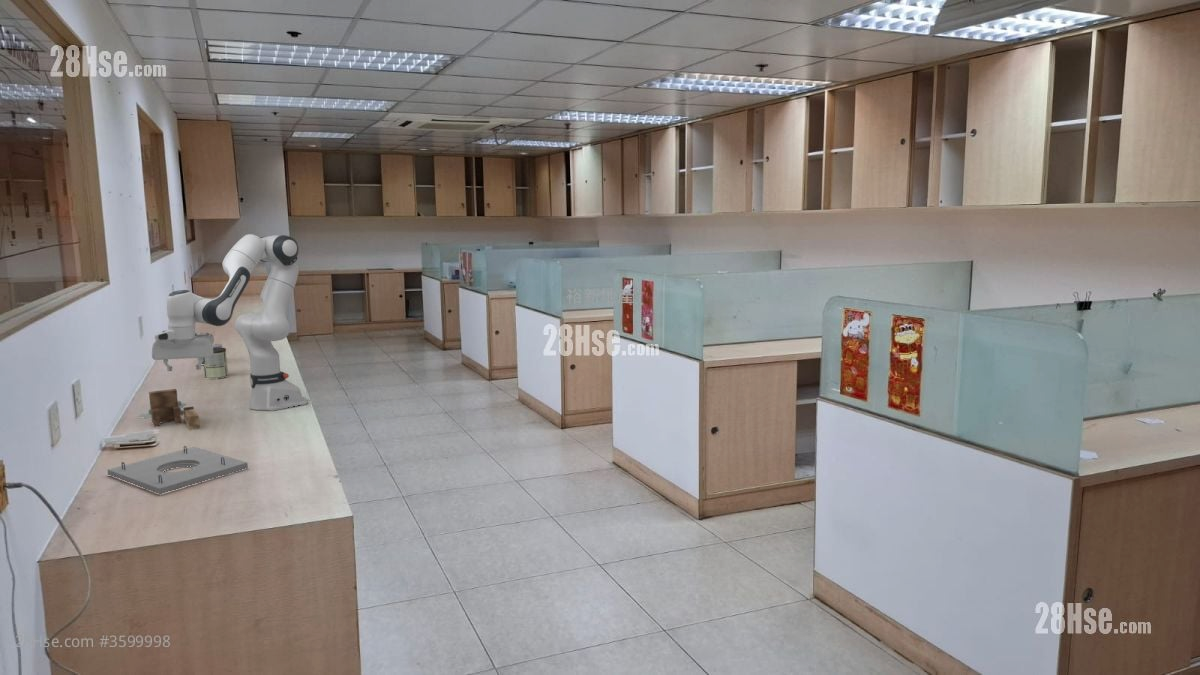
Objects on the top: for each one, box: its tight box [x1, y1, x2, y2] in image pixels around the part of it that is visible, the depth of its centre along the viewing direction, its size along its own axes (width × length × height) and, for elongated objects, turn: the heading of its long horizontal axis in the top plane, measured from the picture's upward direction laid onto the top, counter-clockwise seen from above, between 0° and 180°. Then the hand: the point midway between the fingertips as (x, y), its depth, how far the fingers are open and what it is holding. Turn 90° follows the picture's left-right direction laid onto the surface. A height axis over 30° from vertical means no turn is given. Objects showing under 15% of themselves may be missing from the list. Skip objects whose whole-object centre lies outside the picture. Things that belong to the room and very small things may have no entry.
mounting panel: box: [107, 445, 249, 494], centre depth 231 cm, size 27×5×30 cm
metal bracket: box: [137, 400, 187, 419], centre depth 297 cm, size 14×6×15 cm
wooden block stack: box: [148, 388, 182, 427], centre depth 285 cm, size 9×8×12 cm
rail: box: [183, 406, 201, 431], centre depth 282 cm, size 3×13×6 cm, turn 36°
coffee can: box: [203, 347, 229, 380], centre depth 364 cm, size 10×10×14 cm
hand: (184, 370), depth 281 cm, fingers open, 8 cm apart
